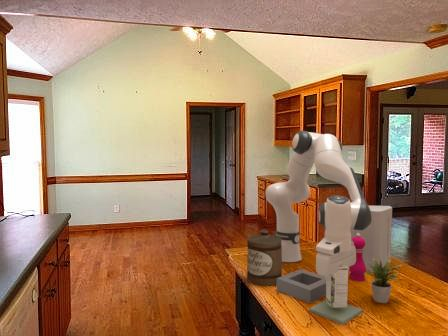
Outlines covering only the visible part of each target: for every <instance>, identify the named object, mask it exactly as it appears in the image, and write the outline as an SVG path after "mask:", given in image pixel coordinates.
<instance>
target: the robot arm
mask: <svg viewBox="0 0 448 336" xmlns="http://www.w3.org/2000/svg"><path fill="white" fill-rule="evenodd" d="M342 145H343V144H342V142H341V140H339V138H337V137H336V136H335V135H334V134H331V133H324V134H323V133H317V132H312V131H311V132H309V131H307V130H299V131H298V132H296V133H295V134H294V136H293V138H292V142H291V147H292V150H293V152H292V154H291V156H290V159H289V162H288V163H287V166H286V173H287V175H288V177H289V179H288V180H287V181H282V182H275V183H272V184H270V185H268V186H267V187H266V189H265V198H266V201H267V202H268V203H269V204H270V205H271V206H272V207H273V209H274V211H275V215H276V230H273V231H272V234H273V235H275V236H278V237H280V238H281V241H282V245H281V248H282V263H296V262H299V261H301V260H303V257H302V253H301V247H300V240H301V239H300V237H301V236H300V234H301V233H300V217H299V214H298V213H297V212H296V211H294V210H293V205H292V204H298V203H303V202H304V201H307V200H308V199H309V198H310V196H311V189H310V185H309V184H308V179H309V176H310V173H311V171H312V169H313V167H315V170H316V171H315V172H316V173H317V175H319V176H321V177H322V178H323V179H326V180H328V181H330V182H331V181H333V182H335V183H337V184H340V185H342V186H344V187H345V188H346V189H347V191H348V195H349V198H348V197H346V196H343V195H335V194H334V195H330V196H329V197H327V198H326V202H322V204H320V206H318V207H317V208H318V218H317V219H318V224H319V225H320V226H322V227H323V228H325V231H324V237H323V238H322V239H321V241H319V243H317V244H316V246H315V251H316V252H317V254H316V257H315V271H316V274H318V275H321V276H324V277H325V280H326V285H327V286H329V287H330V286H332V285H333V281H332V280H331V277H332V274H334V273H336V272H338V266H341V265H344V264H345V265H346V266H348V272H350V271H349V267H350V266H352V265H354V264H355V262H356V249H355V246H354V242H353V241H352V240H351V232H350V229H354V230H364V229H365V228H367V227H368V226H369V225H370V224H371V220H372V215H371V211H370V208H369V206H370V205H369V204H368V203H367V201H366V198H365V195H364V193H363V190H362V188H361V185H360V182H359V181H358V178H357V174H356V173H355V170H354V168H352V167H351V166H349V165H348V164H347V162H345V160H344V159H343V154H342V151H343V146H342Z"/></svg>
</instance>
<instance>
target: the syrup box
mask: <svg viewBox="0 0 448 336" xmlns="http://www.w3.org/2000/svg"><path fill="white" fill-rule="evenodd" d="M331 280H332V281H333V285H332V286H330V287H329V286H327V285H326V296H325V300H326V302H327V303H328V304H329V305H330V306H331V308H339V307H347V304H348V290H349V289H348V285H349V284H348V283H349V271H348V266H346V265H345V264H344V265H341V266H338V272H336V273H334V274H332V277H331Z"/></svg>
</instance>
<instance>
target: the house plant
mask: <svg viewBox="0 0 448 336" xmlns="http://www.w3.org/2000/svg"><path fill="white" fill-rule="evenodd" d="M373 261H374V265H373V266H372V265H371V264H370V263H368V262H367V261H366V262H367V263H368V264H369V265H370V267H371V268H372V269H373V271H374V272H371V271H366V272H364V274H367V275H370V276H372V277H373V278H374V280H373V281H371V282H370V284H371V291H372V297H373V298H372V299H373V301H374V302H377V303H380V304H387V303H388V302H389V300H390V294H391V290H392V286H393V285H392V284H391V283H389V282H391V281H392V280H394V281H395V282H398V280H397V279H396V278H397V277H398V276H397V275H399V274H400V273H399V272H397V273H393V271H394V270H400V269H402V268H401V266H402V264H398V265H394V266H393V267H391V262H392V261H393V259H391V260H390V261H389V258H388V260H387V261H386V263H385V265H384V267H383V269H382V263H381V260H380V257H379V263H380V265H379V264H378V263H377V261H376V260H375V258H373ZM388 261H389V262H388ZM374 266H375V267H374ZM373 267H374V268H373Z"/></svg>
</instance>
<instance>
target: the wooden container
mask: <svg viewBox="0 0 448 336" xmlns="http://www.w3.org/2000/svg"><path fill="white" fill-rule="evenodd" d="M259 232H260V233H259V234H253V235H249V236H248V237H247V241H246V242H247V244H246V245H247V259H246V260H247V261H246V263H247V264H246V265H247V266H246V267H247V268H246V270H247V273H246V275H247V278H246V279H247V282H249V283H251V284H253V285H255V286H261V287H263V286H264V287H266V286H267V287H268V286H269V287H270V286H277V278H279V277H282V276H283V262H282V248H281V245H282V241H281V238H280V237H278V236H275V235H274V234H269V230H268V229H266V228H262V229H261V230H260V231H259Z"/></svg>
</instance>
